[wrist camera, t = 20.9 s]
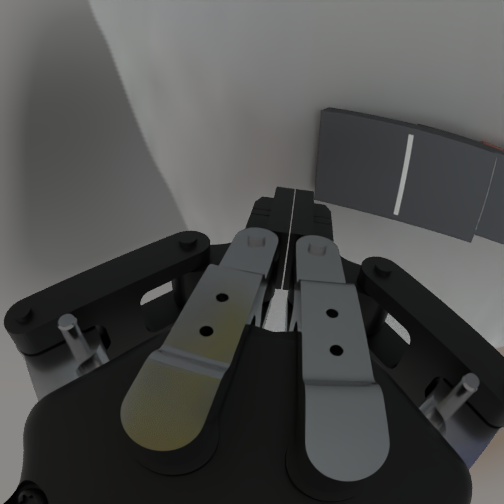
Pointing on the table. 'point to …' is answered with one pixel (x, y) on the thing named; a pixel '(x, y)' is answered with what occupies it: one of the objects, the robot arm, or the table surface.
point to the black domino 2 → (491, 200)
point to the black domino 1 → (403, 172)
